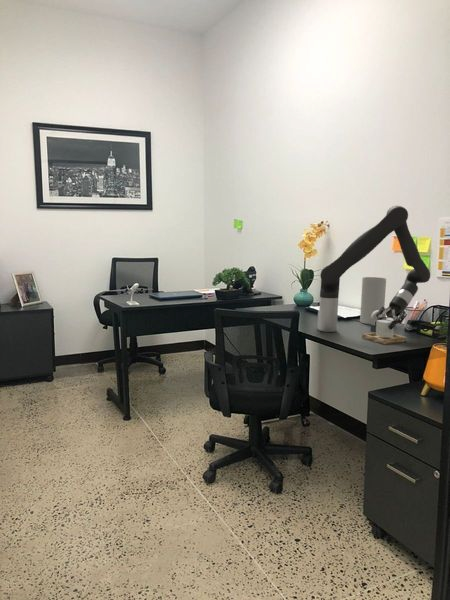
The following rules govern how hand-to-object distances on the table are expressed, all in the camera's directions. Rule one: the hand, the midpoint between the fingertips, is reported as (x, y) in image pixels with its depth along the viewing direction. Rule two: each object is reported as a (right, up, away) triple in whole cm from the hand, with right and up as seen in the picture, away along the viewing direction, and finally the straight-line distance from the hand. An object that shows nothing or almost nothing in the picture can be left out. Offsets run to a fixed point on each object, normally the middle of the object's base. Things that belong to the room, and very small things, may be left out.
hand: (382, 326), depth 227 cm
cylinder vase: (+7, 0, +42) cm, 43 cm away
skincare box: (+1, -5, +1) cm, 5 cm away
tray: (+1, -6, +2) cm, 6 cm away
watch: (+4, -4, +19) cm, 20 cm away
